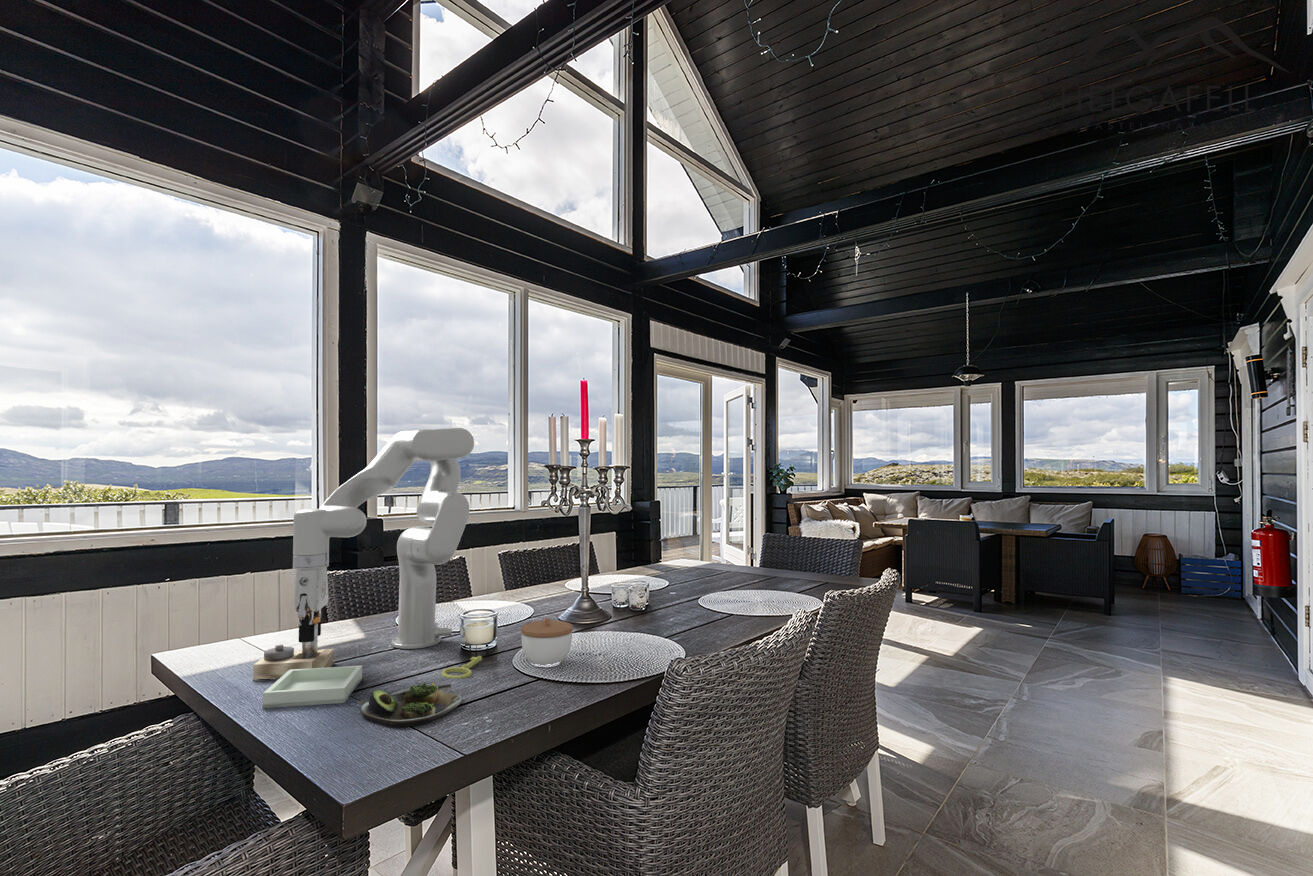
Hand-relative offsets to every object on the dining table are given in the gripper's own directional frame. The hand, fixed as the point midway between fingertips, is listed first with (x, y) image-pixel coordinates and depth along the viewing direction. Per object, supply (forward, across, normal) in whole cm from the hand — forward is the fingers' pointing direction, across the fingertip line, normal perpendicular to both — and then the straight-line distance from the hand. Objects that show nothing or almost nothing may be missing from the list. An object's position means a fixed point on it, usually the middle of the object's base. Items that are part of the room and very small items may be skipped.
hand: (309, 638), depth 149 cm
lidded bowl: (+9, -6, -55) cm, 56 cm away
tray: (+7, -16, -6) cm, 19 cm away
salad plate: (+8, -30, -27) cm, 41 cm away
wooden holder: (+8, 0, +3) cm, 8 cm away
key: (+9, -7, -36) cm, 37 cm away
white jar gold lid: (+4, 0, 0) cm, 4 cm away
